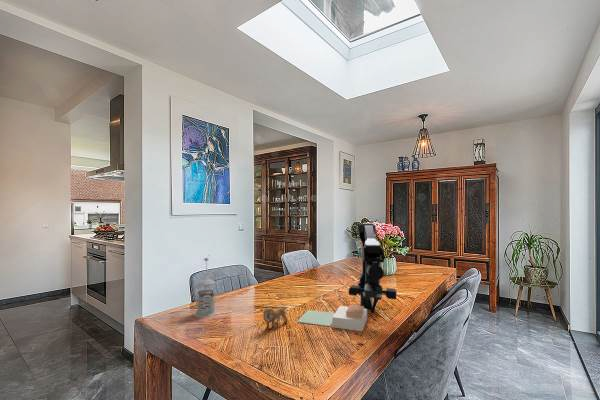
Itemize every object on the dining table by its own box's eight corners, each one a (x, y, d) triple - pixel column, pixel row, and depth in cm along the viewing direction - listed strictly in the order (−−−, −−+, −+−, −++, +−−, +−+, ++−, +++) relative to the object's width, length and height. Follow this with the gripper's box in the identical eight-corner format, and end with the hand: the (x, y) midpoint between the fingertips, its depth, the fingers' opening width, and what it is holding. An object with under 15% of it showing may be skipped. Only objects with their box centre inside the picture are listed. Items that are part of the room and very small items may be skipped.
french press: (210, 318, 130) (211, 260, 131) (185, 316, 132) (186, 259, 133) (220, 310, 140) (221, 256, 140) (197, 309, 142) (198, 255, 143)
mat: (308, 310, 140) (308, 310, 140) (337, 314, 136) (337, 313, 136) (297, 322, 126) (297, 321, 126) (329, 326, 122) (329, 325, 122)
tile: (349, 309, 131) (349, 304, 131) (364, 310, 129) (363, 306, 129) (346, 316, 123) (346, 311, 123) (361, 318, 121) (361, 313, 121)
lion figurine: (271, 334, 114) (271, 310, 114) (259, 331, 117) (259, 308, 117) (290, 321, 127) (290, 300, 127) (279, 319, 130) (279, 298, 130)
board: (339, 314, 135) (339, 305, 136) (367, 318, 132) (367, 308, 132) (332, 327, 121) (332, 317, 121) (362, 331, 117) (362, 321, 117)
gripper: (346, 277, 119) (346, 316, 119) (395, 281, 113) (396, 323, 113) (350, 271, 130) (350, 308, 130) (396, 274, 124) (396, 313, 123)
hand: (372, 313), depth 124 cm, fingers closed
